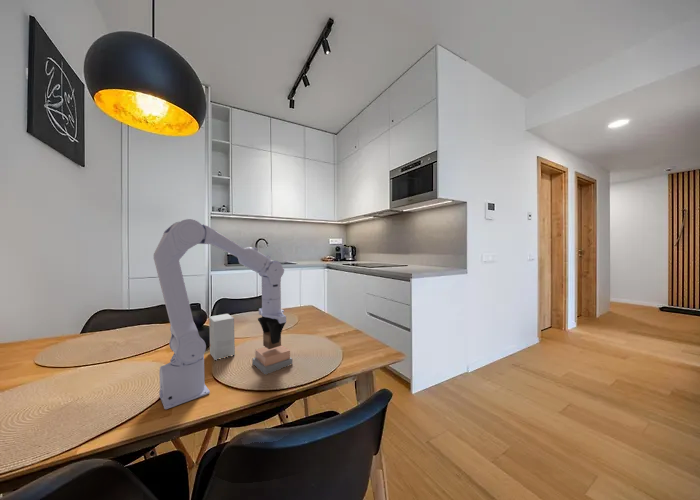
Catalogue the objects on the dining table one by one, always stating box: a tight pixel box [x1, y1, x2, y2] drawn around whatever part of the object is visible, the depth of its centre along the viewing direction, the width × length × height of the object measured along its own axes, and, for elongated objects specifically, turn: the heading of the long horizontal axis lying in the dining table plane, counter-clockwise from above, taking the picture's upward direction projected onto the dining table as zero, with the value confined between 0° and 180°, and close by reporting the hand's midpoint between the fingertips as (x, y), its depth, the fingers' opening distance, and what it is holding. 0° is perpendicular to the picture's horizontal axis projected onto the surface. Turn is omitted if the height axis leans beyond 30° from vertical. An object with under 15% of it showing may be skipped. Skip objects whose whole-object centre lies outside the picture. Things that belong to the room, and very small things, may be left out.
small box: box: [208, 313, 236, 361], centre depth 89 cm, size 8×6×13 cm
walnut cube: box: [262, 331, 282, 349], centre depth 81 cm, size 4×4×4 cm
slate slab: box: [252, 356, 293, 375], centre depth 81 cm, size 9×9×2 cm
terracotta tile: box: [254, 344, 291, 366], centre depth 82 cm, size 8×8×2 cm
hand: (272, 340), depth 81 cm, fingers closed on walnut cube, 4 cm apart
